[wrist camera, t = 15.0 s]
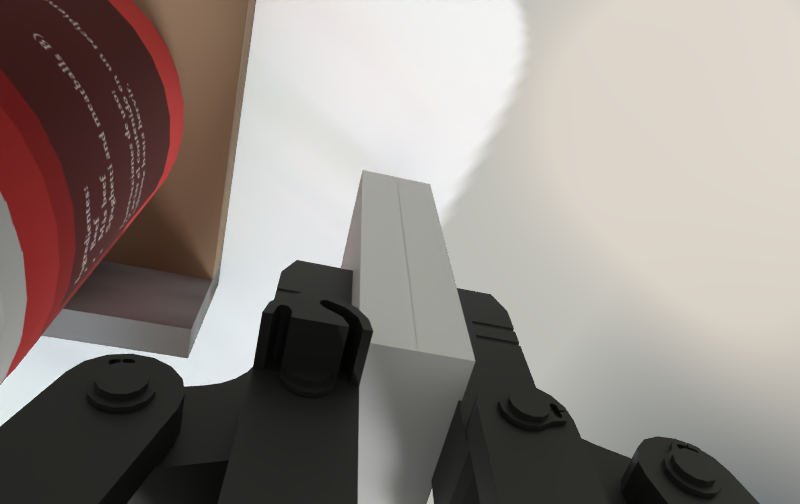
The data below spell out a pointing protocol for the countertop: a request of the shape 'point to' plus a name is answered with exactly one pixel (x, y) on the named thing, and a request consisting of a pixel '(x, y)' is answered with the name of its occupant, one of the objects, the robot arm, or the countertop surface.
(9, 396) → the countertop surface
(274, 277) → the countertop surface
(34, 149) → the canned food
